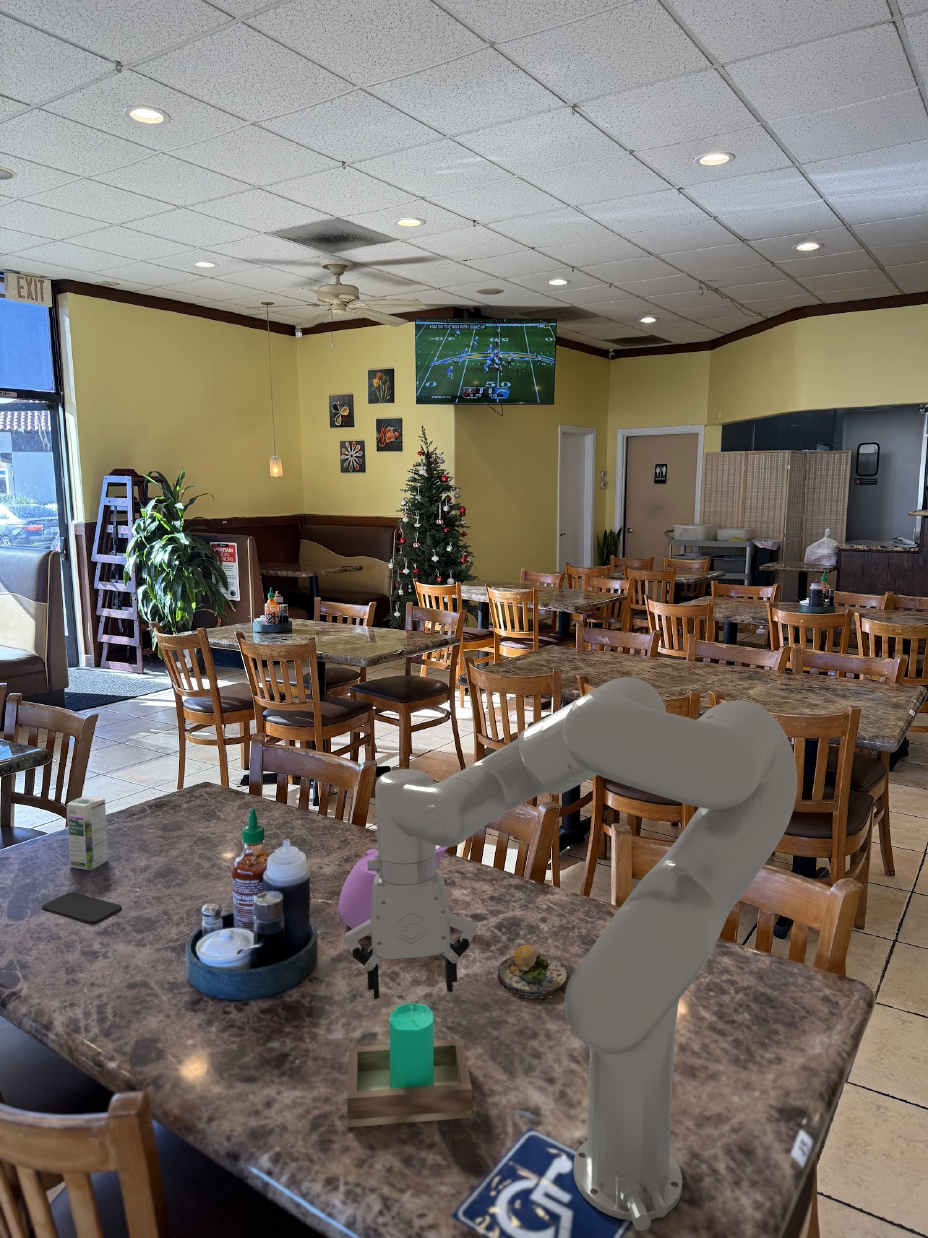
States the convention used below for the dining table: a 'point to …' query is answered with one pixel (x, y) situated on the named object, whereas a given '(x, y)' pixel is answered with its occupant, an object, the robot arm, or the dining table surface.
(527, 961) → the plate of food
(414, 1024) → the candle
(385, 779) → the robot arm
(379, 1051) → the tray
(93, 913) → the phone
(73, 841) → the syrup box
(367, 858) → the teapot
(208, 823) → the dining table surface
